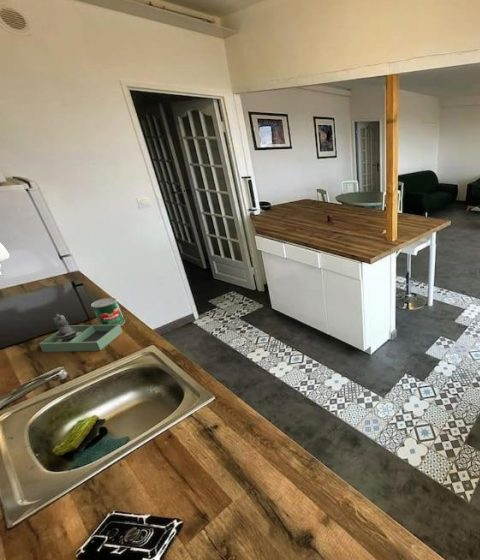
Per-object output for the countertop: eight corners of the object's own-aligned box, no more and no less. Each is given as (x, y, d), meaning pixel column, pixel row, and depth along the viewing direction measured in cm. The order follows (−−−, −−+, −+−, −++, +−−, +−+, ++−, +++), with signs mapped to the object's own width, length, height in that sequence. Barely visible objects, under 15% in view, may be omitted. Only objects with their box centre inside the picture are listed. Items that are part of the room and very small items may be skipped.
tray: (100, 350, 116) (96, 342, 115) (43, 352, 115) (38, 343, 113) (122, 331, 127) (119, 324, 125) (70, 333, 125) (66, 325, 124)
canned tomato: (114, 318, 136) (104, 296, 131) (130, 320, 135) (121, 298, 130) (96, 328, 128) (85, 306, 124) (112, 330, 128) (102, 307, 123)
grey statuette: (80, 333, 124) (67, 307, 119) (81, 340, 120) (67, 313, 115) (59, 339, 120) (45, 313, 115) (59, 346, 116) (45, 319, 111)
